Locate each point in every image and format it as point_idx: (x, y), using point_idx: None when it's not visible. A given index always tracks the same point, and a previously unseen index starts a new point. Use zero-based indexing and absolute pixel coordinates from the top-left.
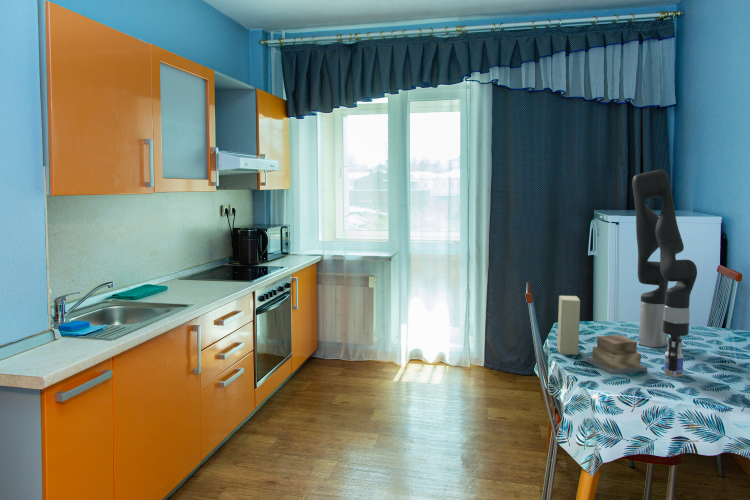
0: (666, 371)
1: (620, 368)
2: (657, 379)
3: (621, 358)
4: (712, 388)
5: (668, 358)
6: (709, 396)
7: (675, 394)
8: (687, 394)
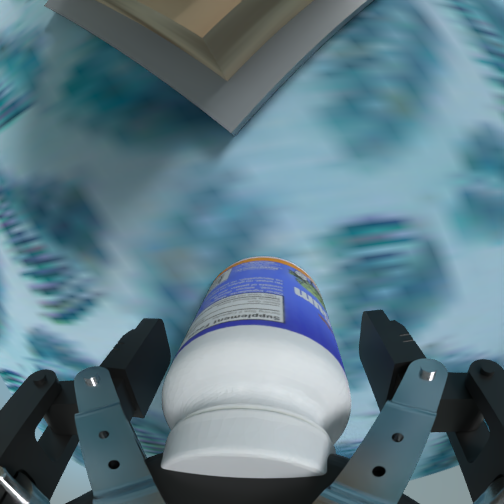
0: (213, 282)
1: (102, 8)
2: (100, 235)
3: None
4: (164, 444)
5: (37, 372)
6: None
7: (5, 325)
8: (33, 363)
